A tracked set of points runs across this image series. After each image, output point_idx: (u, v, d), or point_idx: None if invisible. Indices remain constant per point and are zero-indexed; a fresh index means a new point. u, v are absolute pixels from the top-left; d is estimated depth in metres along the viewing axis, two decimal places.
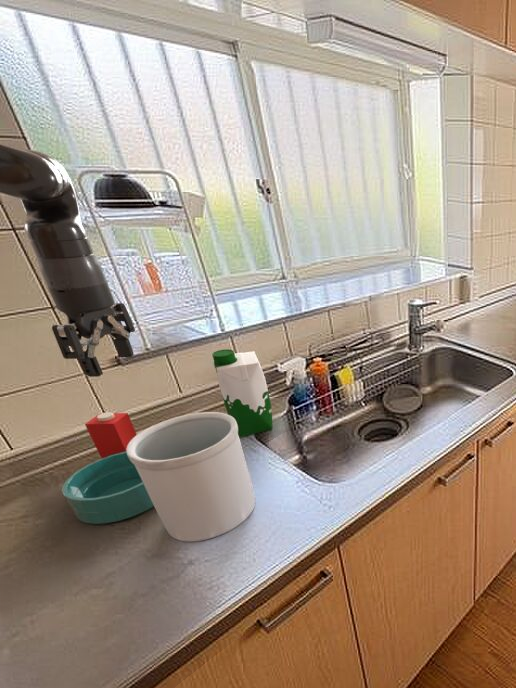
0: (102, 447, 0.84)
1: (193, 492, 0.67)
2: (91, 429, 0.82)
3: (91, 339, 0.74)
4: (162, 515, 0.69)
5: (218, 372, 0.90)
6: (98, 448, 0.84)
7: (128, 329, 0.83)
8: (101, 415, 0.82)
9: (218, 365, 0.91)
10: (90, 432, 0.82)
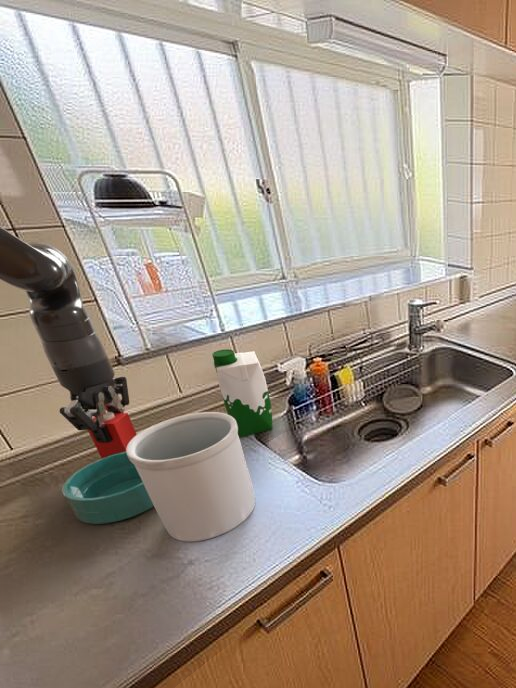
0: (102, 447, 0.84)
1: (193, 492, 0.67)
2: None
3: (98, 412, 0.79)
4: (162, 515, 0.69)
5: (218, 372, 0.90)
6: (98, 448, 0.84)
7: (123, 403, 0.86)
8: None
9: (218, 365, 0.91)
10: (90, 432, 0.82)
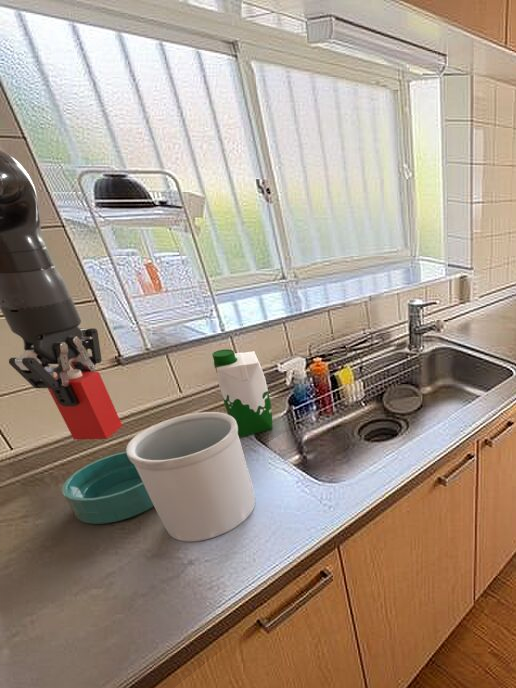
0: (67, 411, 0.69)
1: (193, 492, 0.67)
2: None
3: (60, 367, 0.65)
4: (162, 515, 0.69)
5: (218, 372, 0.90)
6: (62, 413, 0.69)
7: (93, 360, 0.71)
8: None
9: (218, 365, 0.91)
10: (52, 393, 0.67)
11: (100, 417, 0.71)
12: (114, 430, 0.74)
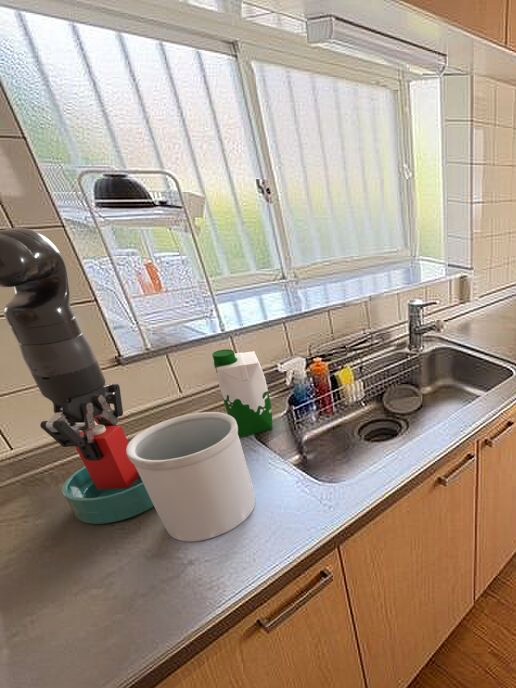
0: (92, 464, 0.73)
1: (193, 492, 0.67)
2: None
3: (86, 425, 0.69)
4: (162, 515, 0.69)
5: (218, 372, 0.90)
6: (87, 466, 0.73)
7: (116, 414, 0.75)
8: None
9: (218, 365, 0.91)
10: (78, 448, 0.71)
11: (122, 468, 0.75)
12: (135, 479, 0.78)
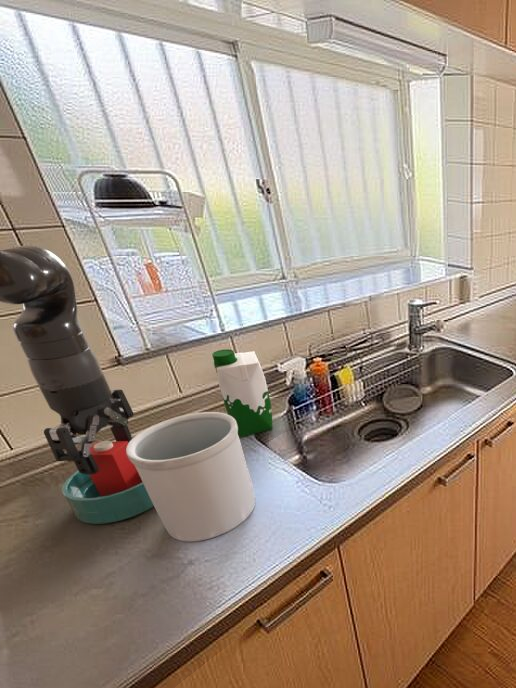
0: (99, 479, 0.75)
1: (193, 492, 0.67)
2: None
3: (86, 437, 0.69)
4: (162, 515, 0.69)
5: (218, 372, 0.90)
6: (95, 481, 0.75)
7: (126, 415, 0.78)
8: (98, 445, 0.73)
9: (218, 365, 0.91)
10: None
11: (129, 483, 0.76)
12: None
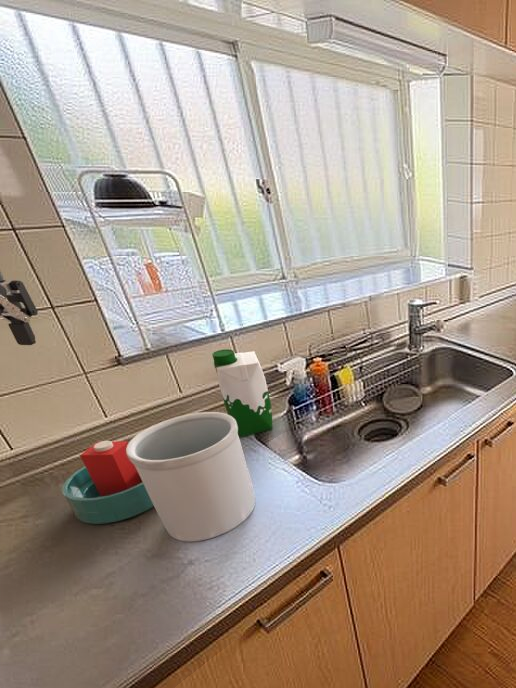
0: (99, 479, 0.75)
1: (193, 492, 0.67)
2: (86, 461, 0.73)
3: None
4: (162, 515, 0.69)
5: (218, 372, 0.90)
6: (95, 481, 0.75)
7: (28, 312, 0.70)
8: (98, 445, 0.73)
9: (218, 365, 0.91)
10: (86, 464, 0.73)
11: (129, 483, 0.76)
12: None
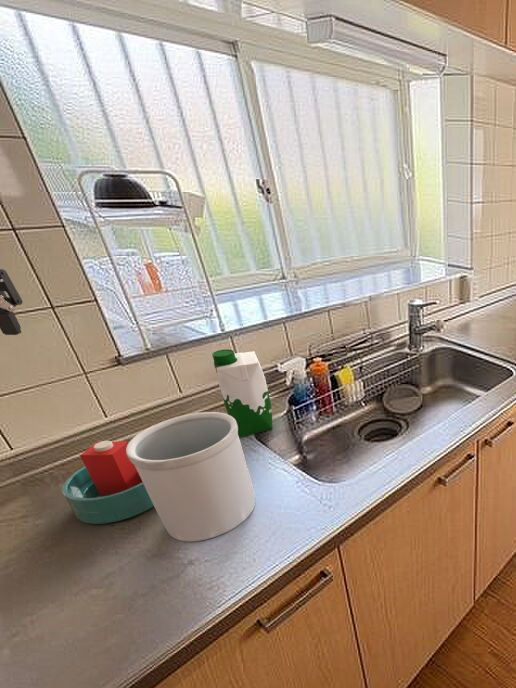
0: (99, 479, 0.75)
1: (193, 492, 0.67)
2: (86, 461, 0.73)
3: None
4: (162, 515, 0.69)
5: (218, 372, 0.90)
6: (95, 481, 0.75)
7: (13, 301, 0.69)
8: (98, 445, 0.73)
9: (218, 365, 0.91)
10: (86, 464, 0.73)
11: (129, 483, 0.76)
12: None
